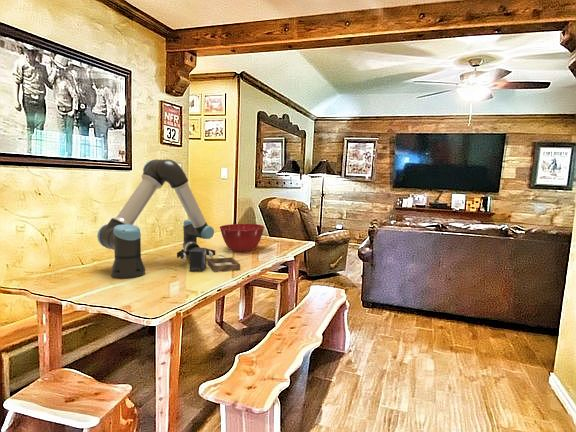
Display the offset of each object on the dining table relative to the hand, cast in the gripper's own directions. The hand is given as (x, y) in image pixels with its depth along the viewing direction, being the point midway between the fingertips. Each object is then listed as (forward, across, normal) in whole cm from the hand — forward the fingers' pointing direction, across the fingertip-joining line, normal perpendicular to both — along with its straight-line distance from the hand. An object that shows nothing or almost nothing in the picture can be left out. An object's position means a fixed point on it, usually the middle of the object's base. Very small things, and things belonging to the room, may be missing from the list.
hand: (198, 256), depth 197 cm
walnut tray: (+2, -12, -6) cm, 14 cm away
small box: (+2, +1, -6) cm, 7 cm away
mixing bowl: (-38, -34, -6) cm, 51 cm away
